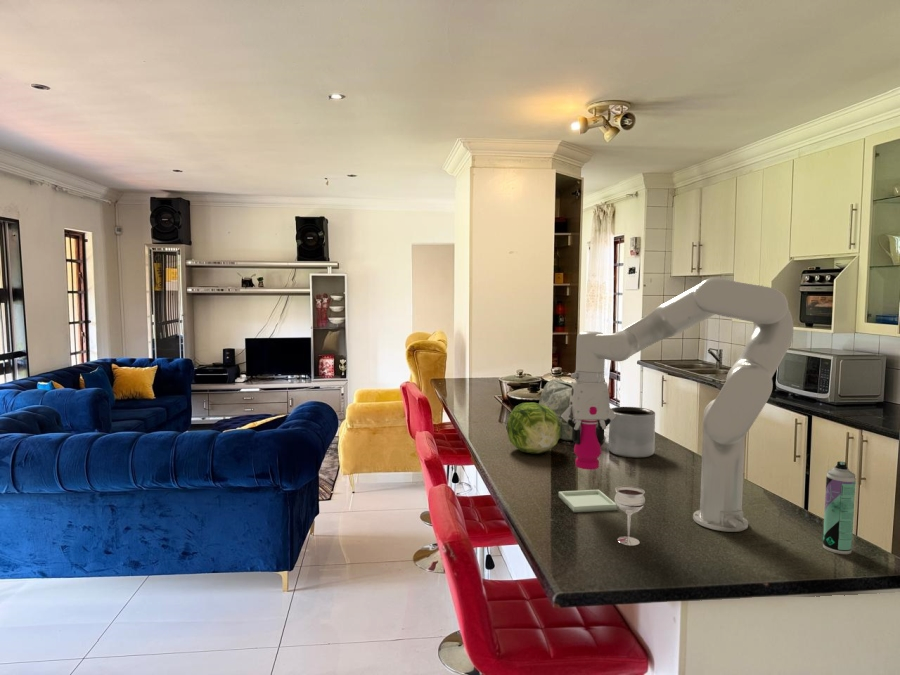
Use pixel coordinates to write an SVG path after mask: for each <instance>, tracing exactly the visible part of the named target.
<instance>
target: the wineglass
mask: <svg viewBox="0 0 900 675" xmlns="http://www.w3.org/2000/svg"><path fill="white" fill-rule="evenodd" d="M614 490H615V492H616V493H615V494H614V502H615V503H616V505H617V508H618V509H619V510H621V511H623V512H624V513H625V514H626V516H627V536H619V537H618V538H617V540H616V541H617V542H618V543H620V544H622V545H625V546H637V545H639V544H640V541H639V539H638V538H635V537H633V536H630V533H631V532H630V531H631V518H632V515H633V514H636V513H638V512H639V511H640V510H642V509H643V508H644V506H645V502H646V499H645V496H644V495H645V493H646V492H645V490H644V489H643V488H641V487H637V486H631V485H620V486H616V487H614Z"/></svg>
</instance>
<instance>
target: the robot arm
mask: <svg viewBox="0 0 900 675" xmlns="http://www.w3.org/2000/svg"><path fill="white" fill-rule="evenodd" d="M715 315H717V316H722V317H726V318H731V319H736V320H740V321H746V322H751V323H752V324H753V329H752V333H751V335H750V337H749V338H748V340H747V342H746V344H745V346H744V348H743V350H742V351H741V353H740V354H739V356H738V357H737V359H736V361H735V362H734V364H733V365H732V367H730V369H729V370H728V372H727V375H726V379H725V382H724V384H723V386H722V387H721V389H720V391H719V393H718V394H717V396H716V397H715V399H713V400H712V399H711V401H710V402H709V403H708V404H707V405H706V406H705V408H704V410H703V413H702V414H703V415H702V427H703V428H702V449H701V450H702V452H701V473H700V474H701V475H700V497H699V498H700V503H699V505H700V506H699V509H698V510H696V511H694V512H693V513H692V514H693V515H692V519H693V521H694V522H695V523H697V524H698V525H700V526H701V527H704V528H707V529H711V530H713V531H719V532H720V531H721V532H727V533H729V532H731V533H733V532H734V533H738V532H742V531H745V530H747V529H748V527H749V521H748V520H747V518H746V517H744V511H743V492H744V491H743V485H744V466H745V439H746V438H745V437H746V435H747V434H748V432H749V431H750V429H751V428H752V426H753V425H754V423H755V422H756V419H758V416H759V415H760V414H761V412H762V410H763V409H764V407H765V405H766V404H767V403H768V400H769V399H770V397H771V394H772V391H773V386H774V385H773V384H774V383H773V377H774V375H775V373H776V371H777V369H778V368H779V366H780V364H781V362H782V360H783V358H784V357H785V356H786V354H787V352H788V350H789V347H790V346H791V343H792V340H793V337H794V322H793V320H794V319H793V317H792V313H791V311H790V309H789V302H788V299H787V297H786V294H784V293H783V292H782V291H780V290H778V289H777V288H774V287H770V286H762V285H757V284H752V283H746V282H740V281H733V280H730V279H726V278H721V277H709V278H707V279H704V280H702V281H701V282H700V283H699V284H696V285H695V286H692V288H689V289H688V290H685V291H684V292H683V293H680V294H679V295H677V296H675V297H673V298H671V299H670V300H668V301H666V302H664V303H662V304H661V305H659V306H657V307H656V308H654V309H653V310H652V311H651V312H650V313H648V314H647V315H645V316H643V317H642V318H640V319H639V320H637V321H636V322H633V323H632V324H630V325H628V326H626V327H624V328H623V329H620V330H618V331H616V332H612V333H603V332H599V331H580V332H579V333H578V334H577V336H576V352H575V353H576V355H575V370H574V372H572V373H570V378H571V379H574V381H573V382H572V383H573V385H572V390H571V396H570V405H569V407H568V408H567V409H566V410H565V412H564V413H563V414H562V415H561V417H562V418H563V419H564V420H565V421H566V422H567V423H568V424H569V425H570V426H571V427H572V440H571V441H573V443H574V444H577V445H579V444H580V430H579V426H580V423H581V421H582V420H598V423H597V428H596V436H597V439H598V441H599V443H600V445H602V444H603V443H604V442H603V441H604V440H605V430H606V429H607V427H608V426H609V423H610V422H611V421H612V420H613V419H614V418H615V417H616V414H615V413H614V412H613V411H612V410H611V407H610V392H609V386H608V383H607V382H605V364H606V363H605V361H606V360H607V361H613V362H624V361H626V360H628V359H629V358H630V357H632V356H633V355H635V354H637V353H639V352H641V351H642V350H644V349H647V348H648V347H651V346H653V345H654V344H656V343H658V342H660V341H662V340H665V339H668V338H672V337H675V336H677V335H678V334H681V333H683V332H684V331H686V330H688V329H690V328H692V327H694V326H696V325H697V324H700V323H701V322H704V321H705V320H707V319H708V318H709V319H710V318H711V317H713V316H715ZM590 407H596V408H597V409H596V410H597V413H596V414H595V415H591V414H590V412H589V410H590V409H589V408H590ZM569 415H570V416H572V417H574V418H573V421H572V420H571V419H570V418H569Z"/></svg>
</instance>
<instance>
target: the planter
mask: <svg viewBox="0 0 900 675" xmlns="http://www.w3.org/2000/svg"><path fill="white" fill-rule="evenodd" d="M610 409H611V410H612V411H613V412H614V413H615V414H616V417H615V418H614V419H613V420H612V421H611V422H610V423H609V424H608V439H607V440H608V441H607V442H608V443H607V445H608V446H607V447H608V451H609V452H610V453H611V454H614V455H616V456H618V457H619V456H620V457H624V458H632V459H641V458H642V459H643V458H648V457H651V456H653V455H654V454H655V447H656V446H655V445H656V444H655V440H656V439H655V434H656V433H655V432H656V430H655V429H656V427H655V426H656V412H655V411H654V410H652V409H650V408H649V409H648V408H644V407H637V406H636V407H635V406H616V407H610Z"/></svg>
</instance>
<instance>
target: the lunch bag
mask: <svg viewBox="0 0 900 675" xmlns="http://www.w3.org/2000/svg"><path fill="white" fill-rule="evenodd" d="M572 385H573V382H567V381H563V380H561V379H558V378H555V379H553V378H552V379H550V380H549V381H547V382H546V384H544V386H543V389H542V392H541V394H540V398H539V402H538V404H542V405H545V406H547V407H548V408H550V409H551V410H553V411H554V412H555V414H556V416H557V418H558V419H559V422H560V424H561V436H560V438H559V440H560V439H561V440H563V441H573V440H572V427H571V426H570V425H569V424H568V423H567V422H566V421H565V420H564V419H563V418H562V417H561V415H562V414H563V413H564V412H565V410H566V409H567V408H568V407H569V405H570V396H571V390H572ZM569 418H570V419H571V420H572V421H573V418H574V417H572V416H570V415H569ZM597 427H598V424H596V428H597ZM579 430H580V432H581V423H580V426H579Z"/></svg>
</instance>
